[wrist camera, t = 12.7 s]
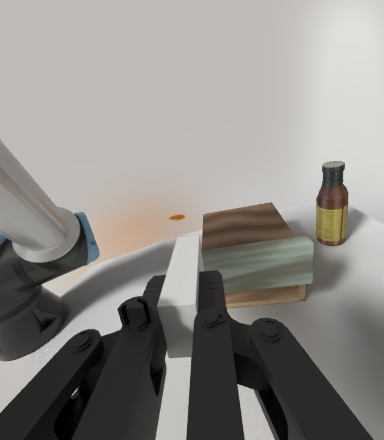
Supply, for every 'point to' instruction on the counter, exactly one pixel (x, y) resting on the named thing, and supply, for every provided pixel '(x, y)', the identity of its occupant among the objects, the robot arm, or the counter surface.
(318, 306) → the counter surface
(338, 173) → the sauce bottle
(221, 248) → the lid
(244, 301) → the chest
